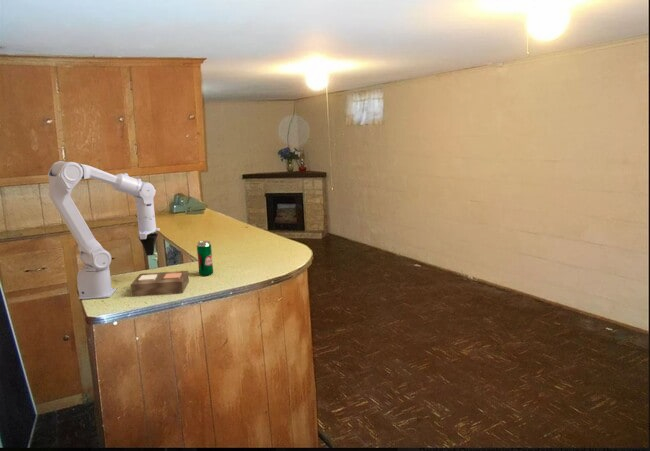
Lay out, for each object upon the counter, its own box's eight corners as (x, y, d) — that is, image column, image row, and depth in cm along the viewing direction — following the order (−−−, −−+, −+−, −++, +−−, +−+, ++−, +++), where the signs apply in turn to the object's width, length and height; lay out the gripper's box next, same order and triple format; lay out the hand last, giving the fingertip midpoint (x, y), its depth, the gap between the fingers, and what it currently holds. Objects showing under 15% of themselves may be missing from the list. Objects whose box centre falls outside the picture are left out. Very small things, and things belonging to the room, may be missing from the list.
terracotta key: (164, 285, 164) (163, 278, 164) (167, 280, 169) (166, 273, 168) (179, 284, 165) (178, 277, 164) (182, 279, 169) (181, 272, 169)
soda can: (208, 276, 178) (205, 244, 176) (196, 275, 180) (193, 243, 178) (216, 272, 183) (213, 241, 181) (204, 271, 185) (201, 240, 183)
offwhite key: (138, 287, 163) (138, 279, 163) (142, 282, 168) (141, 275, 168) (154, 286, 164) (153, 278, 163) (157, 281, 169) (157, 274, 168)
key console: (131, 296, 160) (130, 284, 159) (141, 284, 172) (140, 273, 171) (182, 293, 162) (181, 281, 161) (188, 281, 173) (187, 270, 173)
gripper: (153, 219, 165) (157, 259, 167) (162, 212, 179) (166, 249, 182) (131, 221, 164) (135, 260, 167) (142, 213, 178) (146, 250, 181)
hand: (150, 254), depth 174 cm, fingers closed
